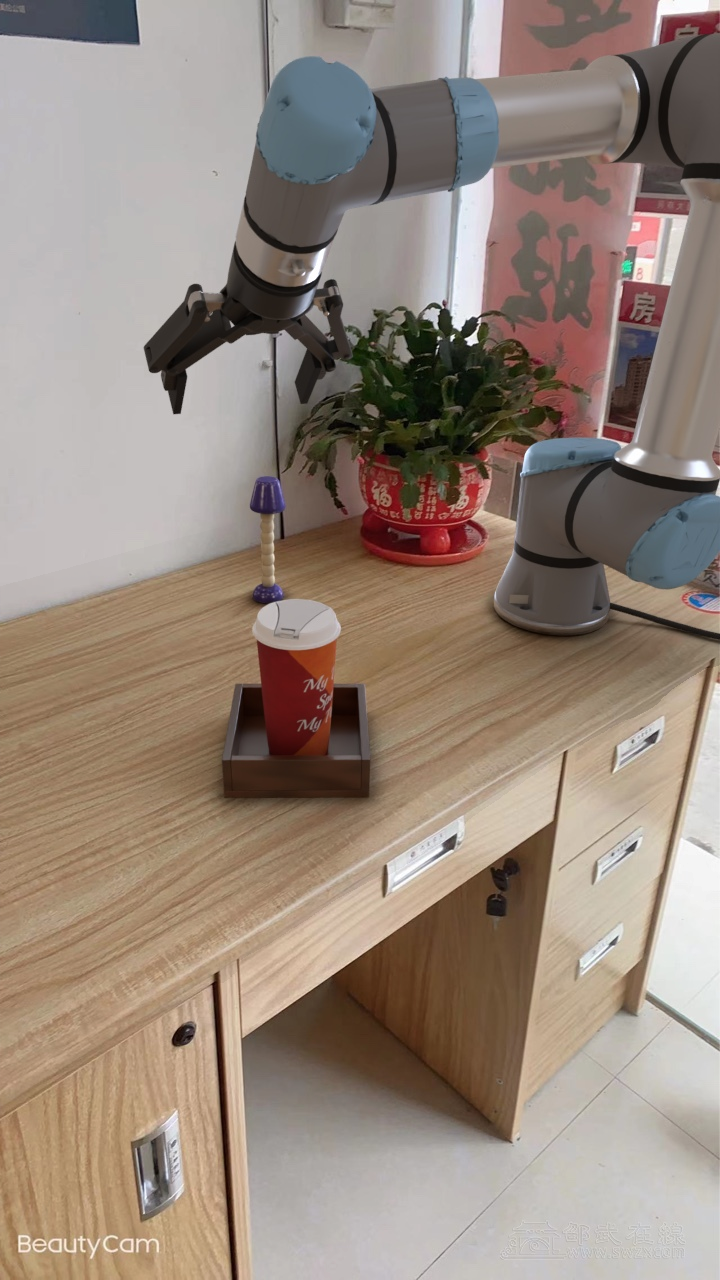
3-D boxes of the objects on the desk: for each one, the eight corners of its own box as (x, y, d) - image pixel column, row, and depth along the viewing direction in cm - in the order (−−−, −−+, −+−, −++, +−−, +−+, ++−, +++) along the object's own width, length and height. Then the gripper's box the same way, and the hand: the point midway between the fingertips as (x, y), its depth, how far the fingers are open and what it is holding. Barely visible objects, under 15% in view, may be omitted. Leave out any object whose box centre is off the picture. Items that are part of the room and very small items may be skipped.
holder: (363, 717, 95) (364, 683, 93) (369, 797, 83) (370, 759, 81) (237, 717, 94) (235, 683, 92) (224, 797, 83) (221, 760, 80)
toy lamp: (257, 587, 123) (253, 472, 116) (290, 590, 123) (288, 474, 115) (249, 602, 119) (244, 483, 111) (283, 605, 119) (280, 486, 111)
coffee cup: (329, 779, 84) (329, 640, 77) (246, 767, 85) (239, 630, 78) (347, 730, 91) (349, 600, 84) (271, 720, 93) (267, 591, 86)
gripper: (136, 297, 67) (124, 440, 87) (428, 287, 76) (358, 419, 95) (116, 217, 69) (110, 374, 88) (404, 216, 78) (341, 359, 97)
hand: (239, 397), depth 92 cm, fingers open, 13 cm apart
